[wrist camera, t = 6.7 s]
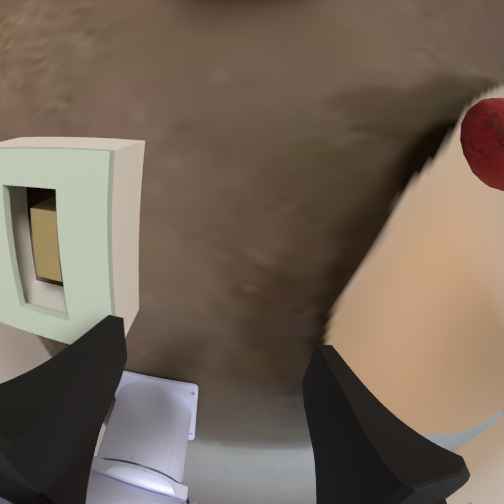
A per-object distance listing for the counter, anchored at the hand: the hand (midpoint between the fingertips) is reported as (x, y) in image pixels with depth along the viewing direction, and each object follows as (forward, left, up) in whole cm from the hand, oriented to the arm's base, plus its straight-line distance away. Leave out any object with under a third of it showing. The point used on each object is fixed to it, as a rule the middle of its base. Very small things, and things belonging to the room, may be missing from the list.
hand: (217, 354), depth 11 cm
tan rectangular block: (0, +11, -10) cm, 15 cm away
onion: (+11, -15, -10) cm, 21 cm away
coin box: (0, +11, -10) cm, 15 cm away
